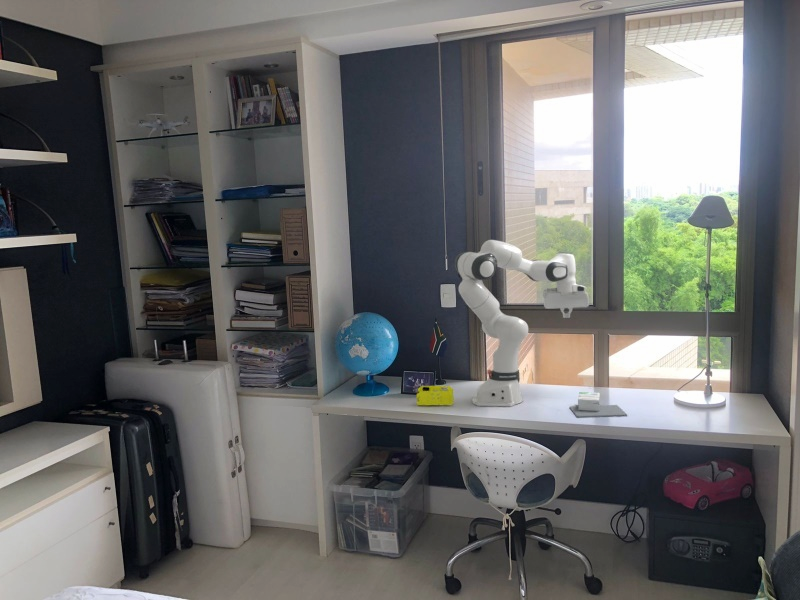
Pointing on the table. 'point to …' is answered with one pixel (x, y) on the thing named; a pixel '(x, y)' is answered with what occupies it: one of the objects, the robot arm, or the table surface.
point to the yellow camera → (435, 395)
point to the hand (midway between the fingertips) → (566, 317)
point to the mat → (603, 411)
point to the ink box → (588, 401)
